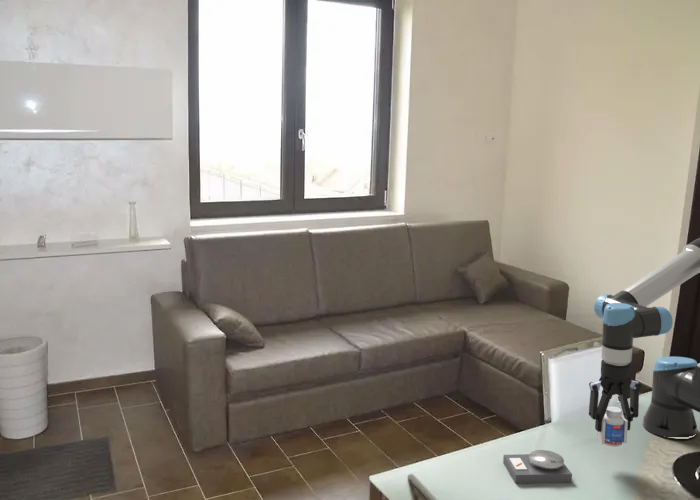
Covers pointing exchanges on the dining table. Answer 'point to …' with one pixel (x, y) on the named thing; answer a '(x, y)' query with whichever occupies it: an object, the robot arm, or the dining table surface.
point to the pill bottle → (613, 426)
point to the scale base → (534, 471)
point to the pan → (546, 459)
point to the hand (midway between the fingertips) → (611, 441)
